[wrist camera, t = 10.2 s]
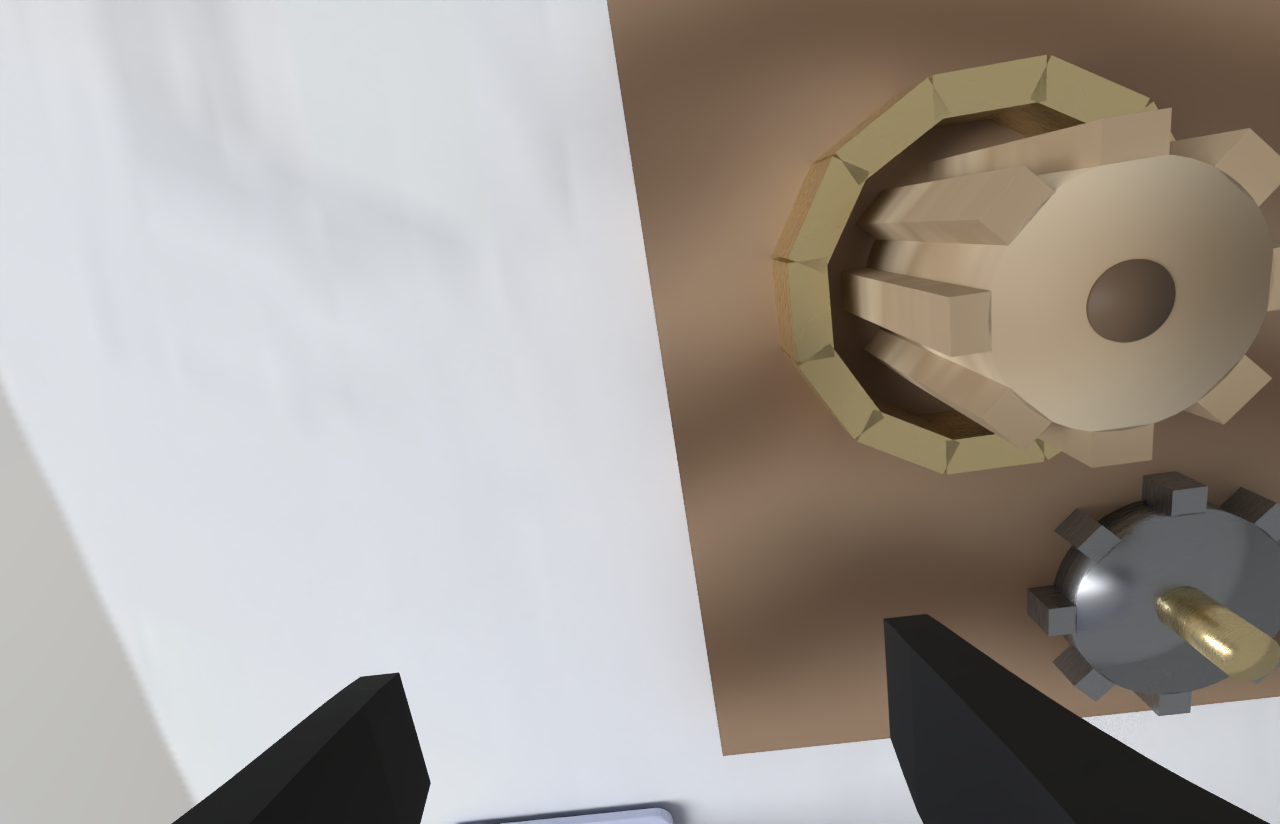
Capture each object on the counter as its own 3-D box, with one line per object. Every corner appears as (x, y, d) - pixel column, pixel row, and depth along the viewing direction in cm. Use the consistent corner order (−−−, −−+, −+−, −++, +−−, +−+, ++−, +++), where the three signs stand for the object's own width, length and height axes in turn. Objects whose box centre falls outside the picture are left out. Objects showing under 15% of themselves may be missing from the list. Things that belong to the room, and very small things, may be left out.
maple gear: (1061, 363, 16) (1298, 442, 10) (849, 393, 16) (957, 487, 10) (1065, 140, 14) (1342, 78, 8) (833, 178, 15) (947, 144, 9)
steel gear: (1269, 675, 18) (1387, 761, 15) (1027, 701, 18) (1095, 790, 15) (1294, 455, 16) (1433, 504, 13) (1026, 490, 17) (1104, 545, 14)
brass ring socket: (1124, 416, 16) (1188, 442, 14) (791, 462, 17) (809, 493, 15) (1140, 52, 14) (1217, 24, 12) (756, 120, 14) (771, 103, 12)
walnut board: (1248, 660, 19) (1295, 694, 18) (718, 719, 21) (723, 756, 19) (1330, -116, 14) (1406, -156, 13) (612, 21, 15) (606, -1, 14)
